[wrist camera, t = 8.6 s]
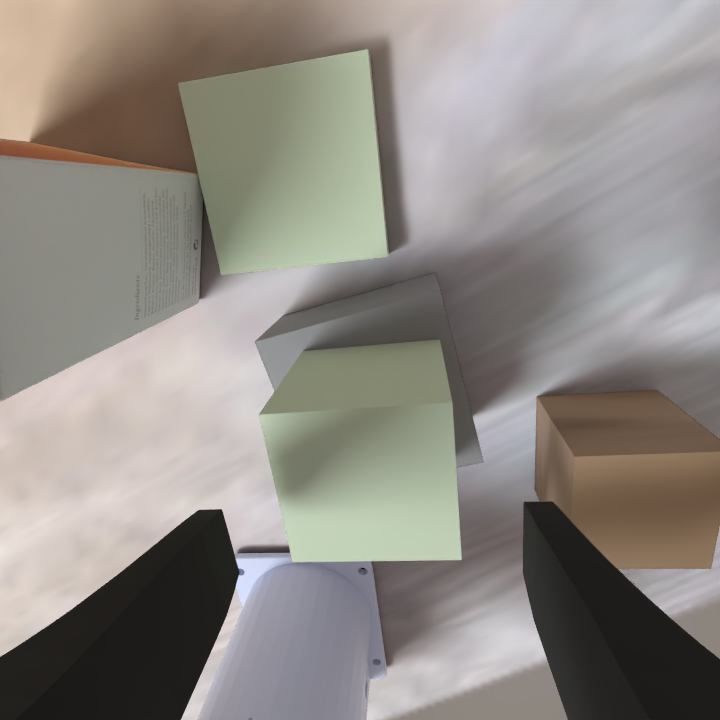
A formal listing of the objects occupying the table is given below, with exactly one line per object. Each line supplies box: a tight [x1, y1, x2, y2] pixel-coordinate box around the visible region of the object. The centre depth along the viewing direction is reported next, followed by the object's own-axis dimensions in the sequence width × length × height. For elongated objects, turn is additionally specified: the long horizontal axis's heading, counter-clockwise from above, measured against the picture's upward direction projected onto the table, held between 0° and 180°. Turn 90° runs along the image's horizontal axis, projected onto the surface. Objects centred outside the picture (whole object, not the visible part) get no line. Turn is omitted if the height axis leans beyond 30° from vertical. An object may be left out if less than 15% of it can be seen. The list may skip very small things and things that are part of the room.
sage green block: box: [259, 339, 462, 562], centre depth 14 cm, size 5×5×5 cm
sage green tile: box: [178, 49, 389, 275], centre depth 17 cm, size 7×7×1 cm
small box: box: [0, 139, 203, 402], centre depth 14 cm, size 8×6×10 cm
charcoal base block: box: [255, 272, 484, 468], centre depth 18 cm, size 7×7×4 cm
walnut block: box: [535, 390, 720, 569], centre depth 18 cm, size 5×5×5 cm
